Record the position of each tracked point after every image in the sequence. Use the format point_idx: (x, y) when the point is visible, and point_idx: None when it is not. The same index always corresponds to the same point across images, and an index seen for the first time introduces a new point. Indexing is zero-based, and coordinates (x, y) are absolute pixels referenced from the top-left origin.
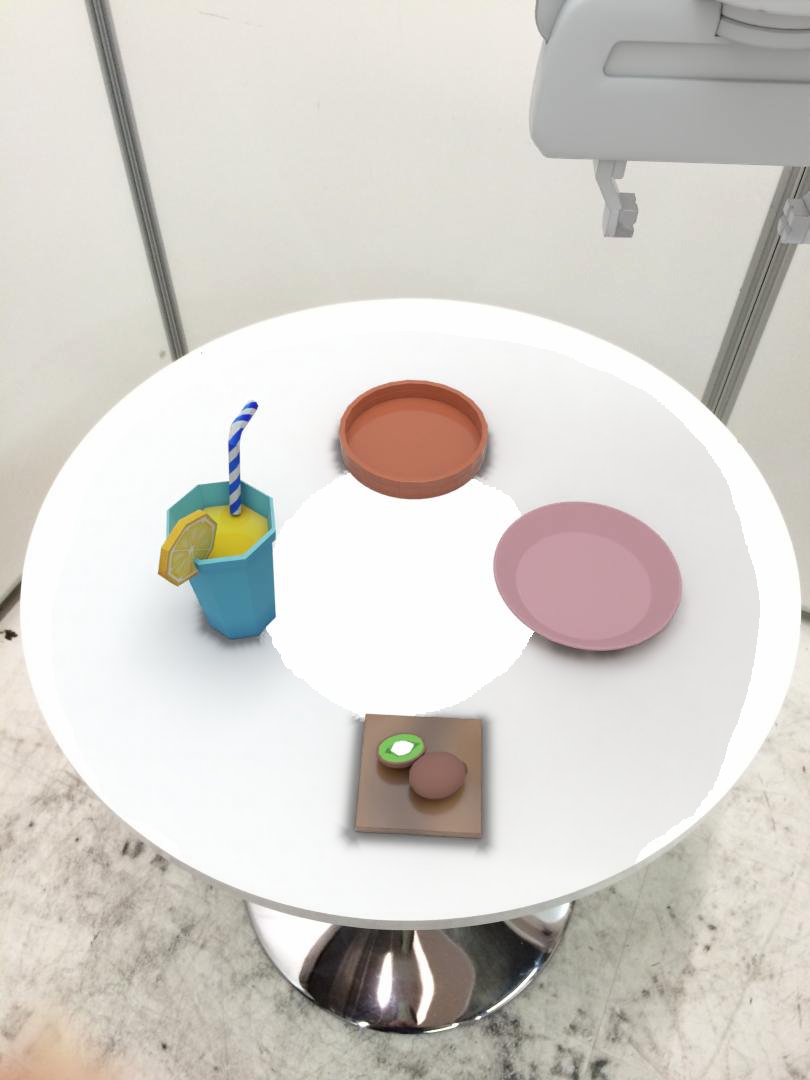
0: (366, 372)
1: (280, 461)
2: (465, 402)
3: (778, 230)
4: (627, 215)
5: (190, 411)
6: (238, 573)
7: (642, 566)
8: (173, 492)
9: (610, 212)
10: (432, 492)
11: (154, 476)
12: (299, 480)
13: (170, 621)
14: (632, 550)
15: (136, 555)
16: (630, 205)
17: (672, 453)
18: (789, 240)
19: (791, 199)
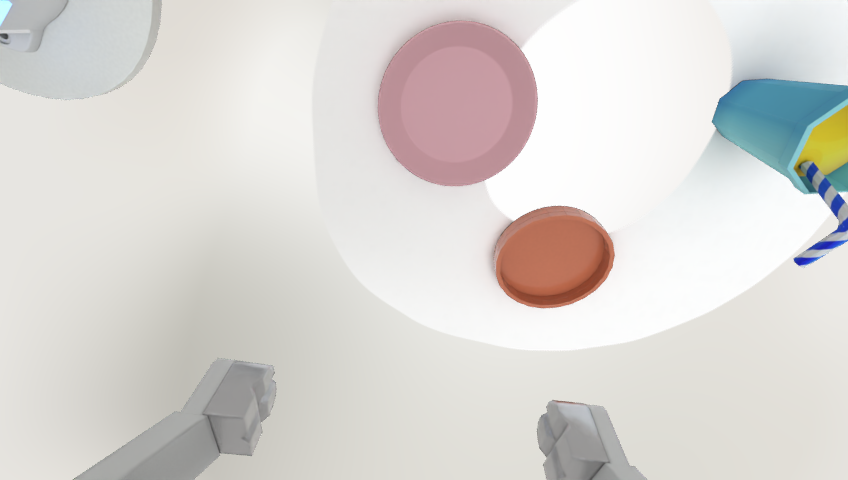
0: (561, 319)
1: (653, 250)
2: (505, 285)
3: (274, 391)
4: (587, 447)
5: (701, 299)
6: (840, 90)
7: (403, 122)
8: (746, 229)
9: (625, 457)
10: (551, 209)
11: (754, 245)
12: (645, 231)
13: None
14: (407, 138)
15: None
16: (578, 468)
17: (354, 230)
18: (259, 368)
19: (243, 453)
